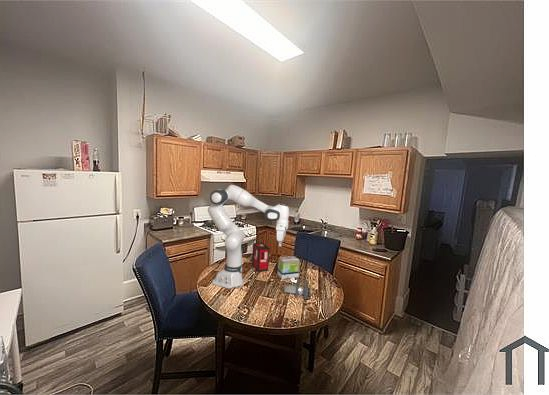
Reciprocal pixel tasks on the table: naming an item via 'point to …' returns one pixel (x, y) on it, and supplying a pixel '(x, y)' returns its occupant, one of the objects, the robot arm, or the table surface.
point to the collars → (305, 288)
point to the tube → (293, 290)
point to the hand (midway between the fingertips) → (281, 244)
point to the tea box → (288, 267)
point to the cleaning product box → (260, 257)
